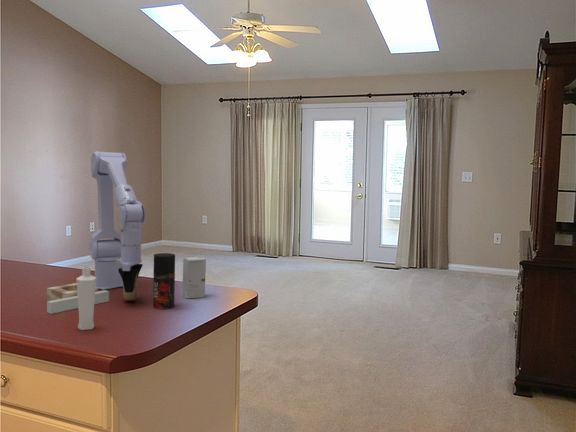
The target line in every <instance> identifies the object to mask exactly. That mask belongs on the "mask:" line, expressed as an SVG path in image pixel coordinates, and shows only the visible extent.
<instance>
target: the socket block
mask: <svg viewBox="0 0 576 432" xmlns="http://www.w3.org/2000/svg"><path fill="white" fill-rule="evenodd" d="M98 291H99V289H98V288H97V287H96V288H95V292H98ZM73 296H77V282H74V283H68V284H63V285H56V286H51V287H47V288H46V302H47V301H52V300H58V299H63V298H68V297H73Z"/></svg>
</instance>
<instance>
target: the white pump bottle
mask: <svg viewBox="0 0 576 432" xmlns="http://www.w3.org/2000/svg"><path fill="white" fill-rule="evenodd" d="M91 268H92V266H83V267H81V270H82V271H81V274H82V275H80V276H79V277H76V282H75V283H77V296H78V308H77V309H78V319H79V320H78V325H77V329H79V330H81V331H84V330H85V331H86V330H93V329H94V328H95V324H94V323H95V321H94V311H95V305H94V301H95V288H96V277H95V275H92V274H91V272H92V271H91Z"/></svg>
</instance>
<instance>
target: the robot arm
mask: <svg viewBox="0 0 576 432" xmlns="http://www.w3.org/2000/svg"><path fill="white" fill-rule="evenodd" d="M127 164H128V158H127V155H126V154H125V152H111V151H109V152H108V151H97V150H95V151H93V153H91V157H90V172H91V177H92V178H93V179H96V183H97V208H98V209H97V210H98V230H97V231H95V232H94V233H93V234H92V235H91V236H90V238H89V245H88V246H89V248H88V249H89V251H88V252H89V256H90V258H91V259H92V260H93V261H94V277H96V287H97V288H98V290H101V291H103V290H106V291H107V290H110V289H115V288H120V287H123V285H124V290H125V292H126V293H132V292H133V290H134V284H135V279H136V275H137V281H138V280H139V277H140V273H141V270H142V268H143V266H144V265H143V264H142V224H143V223H144V221H145V218H146V210H145V209H146V208H145V206H144V203H141V202H140V201H138V199H137V196H136V194H135V190H134V187H132V186H131V184H128V180H127V176H126V174H125V172H126V169H127V166H128V165H127ZM114 198H115V202H116V204H117V207H118V211H117V219H118V224H119V226H118V227H119V229H120V233H119V232H118V231H117V230H115V208H114V204H115V203H114Z"/></svg>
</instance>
